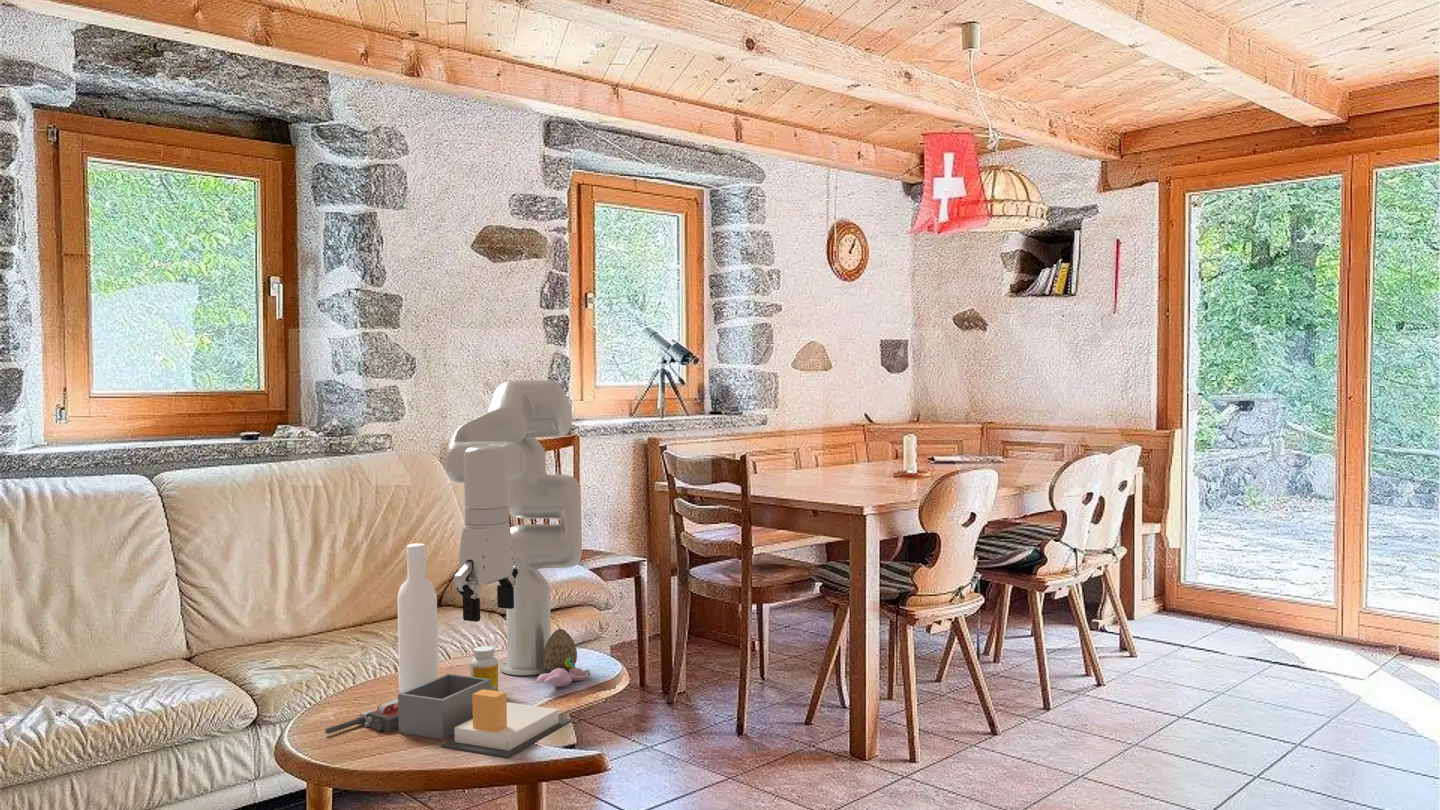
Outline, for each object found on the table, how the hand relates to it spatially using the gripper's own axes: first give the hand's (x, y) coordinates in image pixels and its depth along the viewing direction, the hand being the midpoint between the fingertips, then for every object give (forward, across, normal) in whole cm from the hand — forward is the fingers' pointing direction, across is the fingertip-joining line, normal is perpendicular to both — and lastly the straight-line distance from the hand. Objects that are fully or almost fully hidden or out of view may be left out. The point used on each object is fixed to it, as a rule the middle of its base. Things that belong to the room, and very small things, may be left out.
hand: (489, 614), depth 183 cm
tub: (+23, -4, -14) cm, 27 cm away
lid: (+22, -4, 0) cm, 23 cm away
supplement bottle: (+23, -22, -18) cm, 36 cm away
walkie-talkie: (+24, 0, -24) cm, 34 cm away
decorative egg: (+24, -40, -11) cm, 47 cm away
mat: (+23, -4, 0) cm, 23 cm away
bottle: (+23, -20, -33) cm, 45 cm away
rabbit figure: (+24, -33, -7) cm, 41 cm away
